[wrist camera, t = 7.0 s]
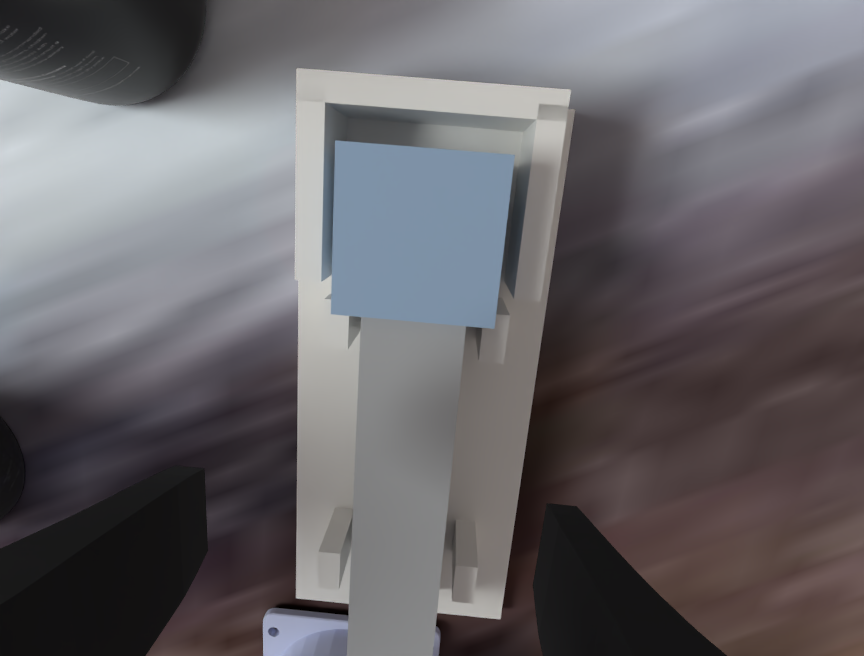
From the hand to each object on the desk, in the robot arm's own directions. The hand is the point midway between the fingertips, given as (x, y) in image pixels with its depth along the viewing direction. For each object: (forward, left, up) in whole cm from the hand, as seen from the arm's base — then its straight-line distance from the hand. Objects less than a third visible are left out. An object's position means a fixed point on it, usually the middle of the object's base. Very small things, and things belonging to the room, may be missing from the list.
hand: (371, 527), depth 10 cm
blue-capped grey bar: (0, 0, -9) cm, 9 cm away
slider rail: (0, 0, -9) cm, 9 cm away
